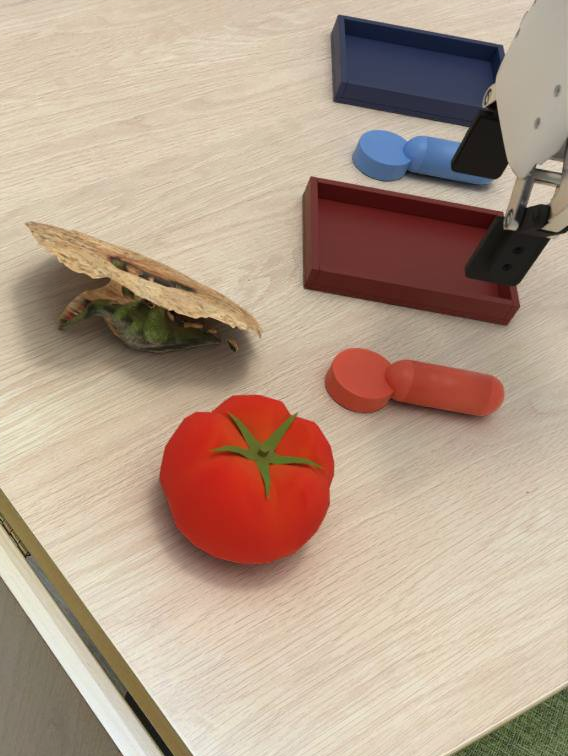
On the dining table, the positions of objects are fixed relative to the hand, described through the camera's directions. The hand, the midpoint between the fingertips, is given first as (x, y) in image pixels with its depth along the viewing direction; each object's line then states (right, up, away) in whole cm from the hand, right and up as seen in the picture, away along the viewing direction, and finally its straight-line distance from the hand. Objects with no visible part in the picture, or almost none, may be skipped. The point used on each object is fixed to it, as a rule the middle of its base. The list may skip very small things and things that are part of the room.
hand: (481, 223), depth 60 cm
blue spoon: (+7, +13, +27) cm, 31 cm away
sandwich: (-20, -3, +14) cm, 24 cm away
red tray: (+3, +4, +20) cm, 21 cm away
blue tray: (+9, +24, +34) cm, 43 cm away
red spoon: (+1, -9, +12) cm, 15 cm away
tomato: (-14, -17, +5) cm, 23 cm away
